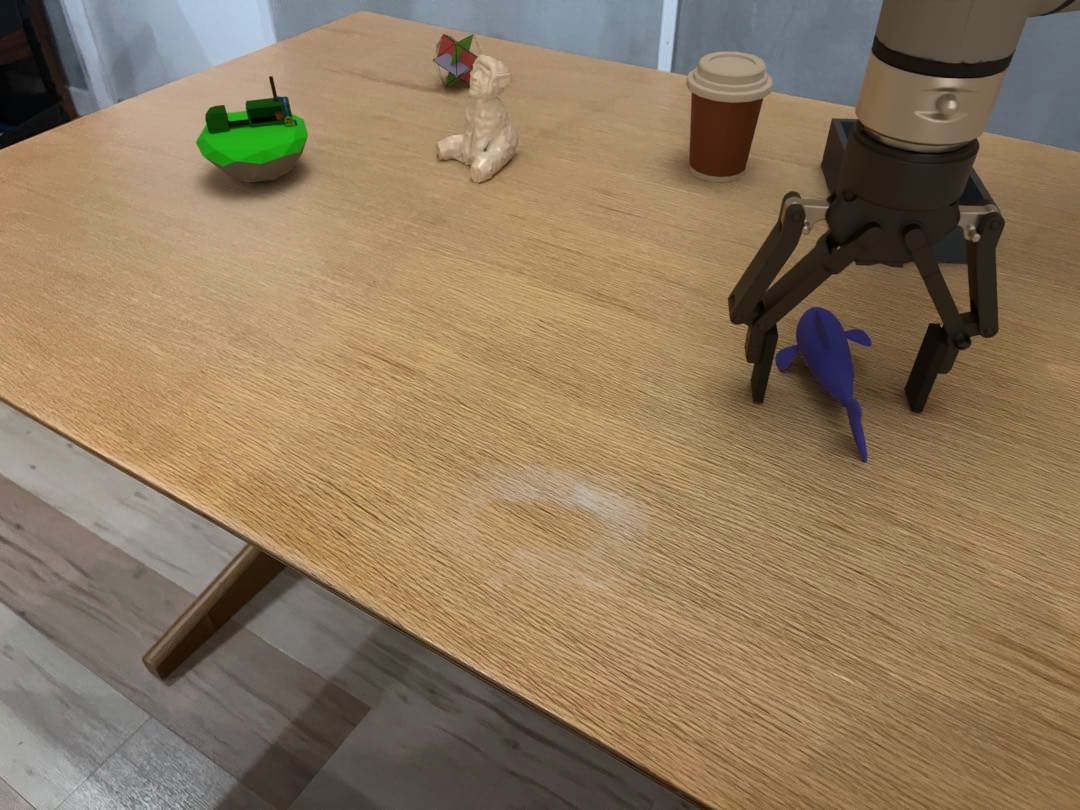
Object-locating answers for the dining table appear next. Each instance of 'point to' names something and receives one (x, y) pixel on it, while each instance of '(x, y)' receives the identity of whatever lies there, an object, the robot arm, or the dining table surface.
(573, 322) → the dining table surface
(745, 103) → the coffee cup
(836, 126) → the bin
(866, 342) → the fish toy
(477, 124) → the seated clay statuette
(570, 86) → the dining table surface
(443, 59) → the geometric puzzle
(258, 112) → the miniature floating island
